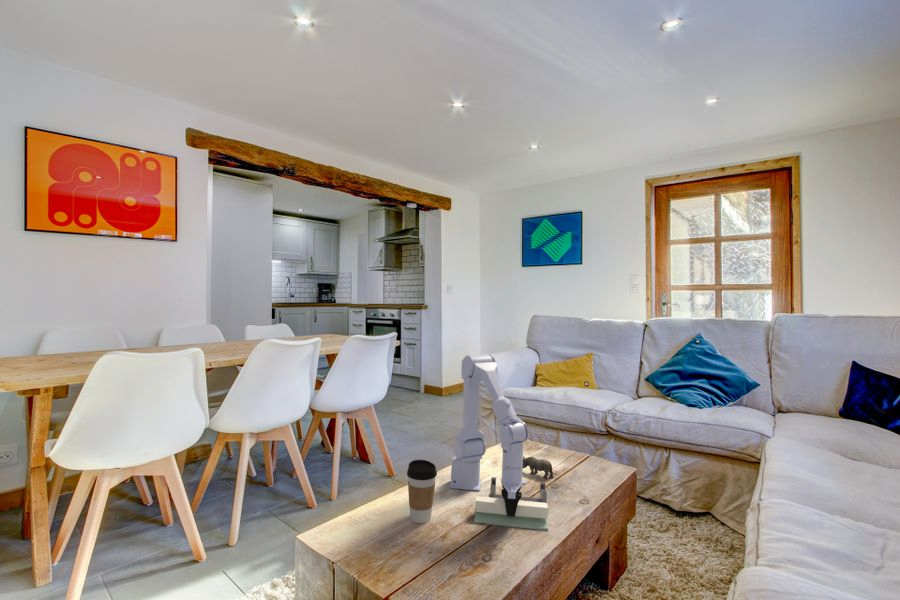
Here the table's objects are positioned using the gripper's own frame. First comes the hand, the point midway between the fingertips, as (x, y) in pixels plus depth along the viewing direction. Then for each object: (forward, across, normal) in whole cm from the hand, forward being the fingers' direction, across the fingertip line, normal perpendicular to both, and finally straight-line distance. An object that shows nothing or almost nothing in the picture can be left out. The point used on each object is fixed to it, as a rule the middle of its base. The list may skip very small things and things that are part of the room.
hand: (510, 512), depth 122 cm
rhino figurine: (+2, +33, -8) cm, 34 cm away
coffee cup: (+2, -5, +25) cm, 26 cm away
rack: (+2, +9, -2) cm, 9 cm away
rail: (0, 0, 0) cm, 0 cm away
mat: (+2, 0, 0) cm, 2 cm away
